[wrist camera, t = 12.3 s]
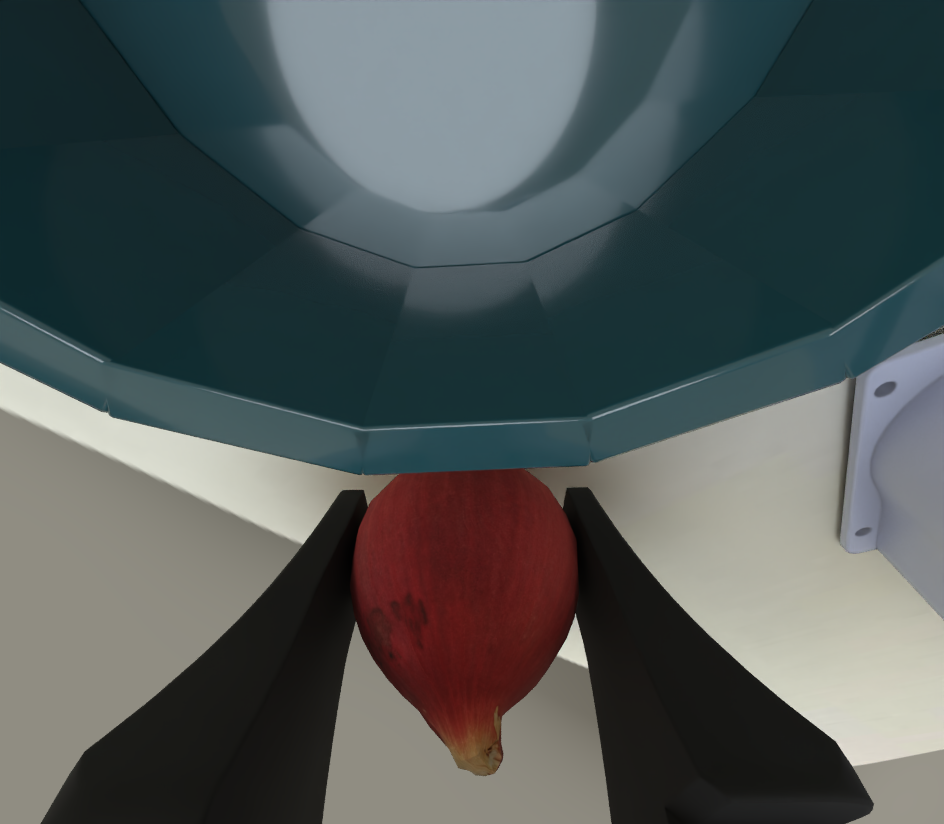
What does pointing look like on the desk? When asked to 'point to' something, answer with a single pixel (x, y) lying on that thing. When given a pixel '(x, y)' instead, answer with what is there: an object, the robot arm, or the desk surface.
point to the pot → (465, 216)
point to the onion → (465, 597)
